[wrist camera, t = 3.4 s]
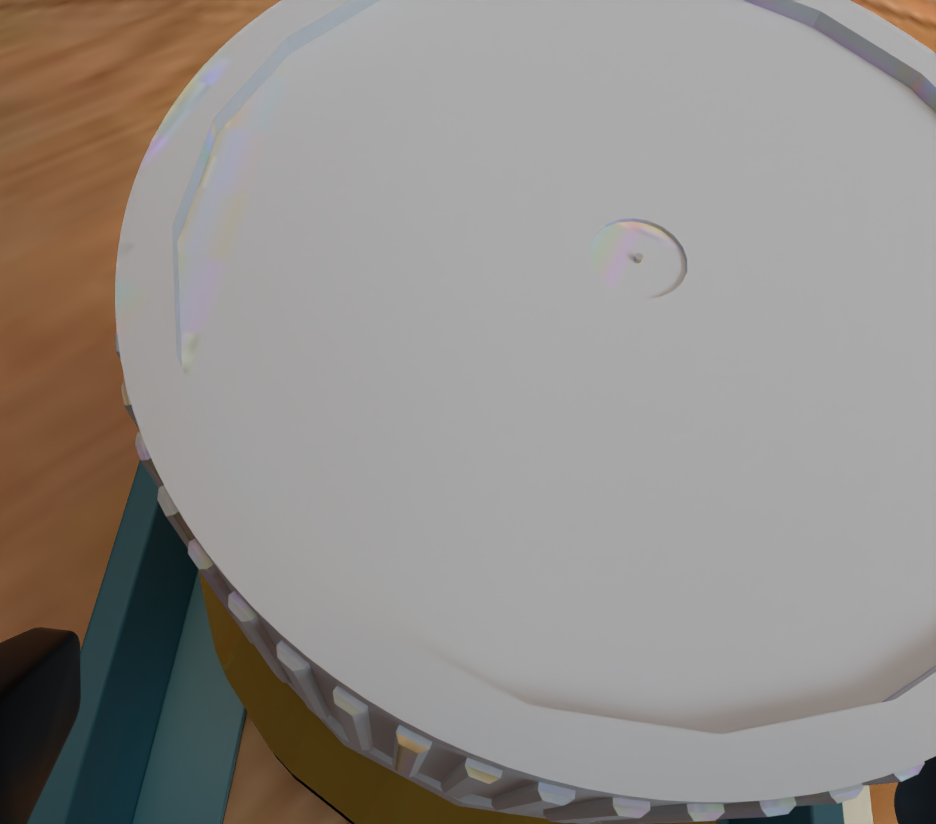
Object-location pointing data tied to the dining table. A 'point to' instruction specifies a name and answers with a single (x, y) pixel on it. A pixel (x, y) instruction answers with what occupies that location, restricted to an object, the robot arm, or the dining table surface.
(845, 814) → the teal square tray
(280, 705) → the bottle
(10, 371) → the dining table surface
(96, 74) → the dining table surface
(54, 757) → the robot arm
